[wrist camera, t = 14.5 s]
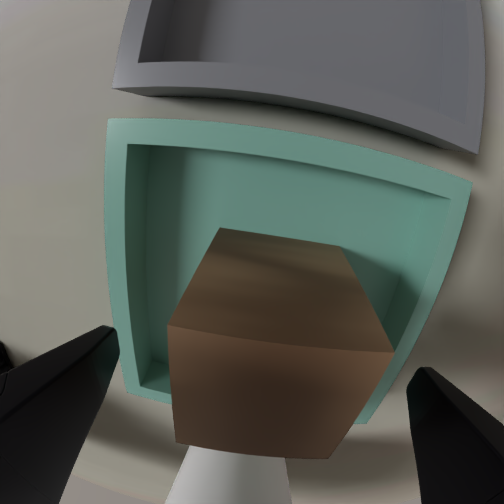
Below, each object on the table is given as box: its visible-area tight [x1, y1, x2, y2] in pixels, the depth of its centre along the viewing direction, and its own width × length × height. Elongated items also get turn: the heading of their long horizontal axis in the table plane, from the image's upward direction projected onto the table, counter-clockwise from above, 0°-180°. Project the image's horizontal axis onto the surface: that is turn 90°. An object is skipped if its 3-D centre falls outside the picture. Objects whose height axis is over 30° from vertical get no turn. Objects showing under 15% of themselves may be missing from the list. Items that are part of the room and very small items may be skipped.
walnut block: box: [167, 227, 395, 459], centre depth 9 cm, size 4×4×6 cm
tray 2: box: [104, 118, 473, 424], centre depth 11 cm, size 12×12×2 cm
